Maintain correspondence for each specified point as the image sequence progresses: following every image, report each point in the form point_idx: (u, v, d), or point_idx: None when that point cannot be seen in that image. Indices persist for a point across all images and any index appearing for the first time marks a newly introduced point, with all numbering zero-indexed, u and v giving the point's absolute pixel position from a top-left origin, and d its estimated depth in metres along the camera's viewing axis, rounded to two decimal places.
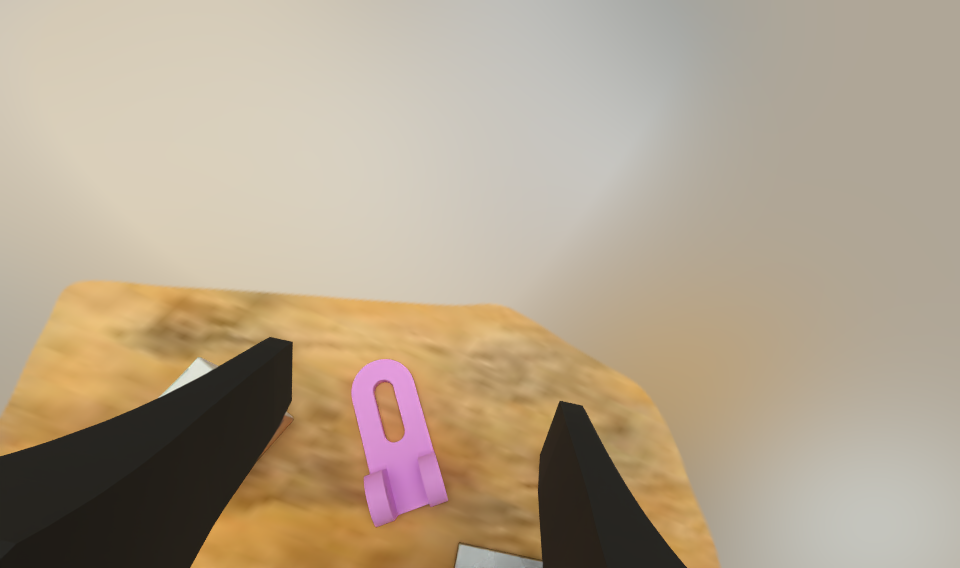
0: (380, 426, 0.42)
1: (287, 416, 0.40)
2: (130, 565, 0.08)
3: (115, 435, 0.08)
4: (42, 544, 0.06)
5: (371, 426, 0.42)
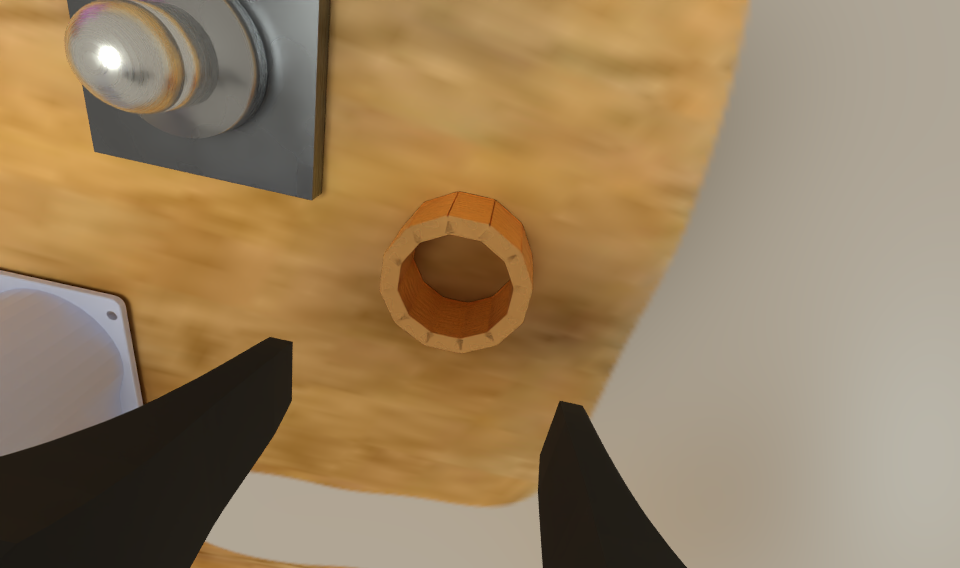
0: None
1: None
2: (130, 565, 0.08)
3: (116, 435, 0.08)
4: (42, 544, 0.06)
5: None
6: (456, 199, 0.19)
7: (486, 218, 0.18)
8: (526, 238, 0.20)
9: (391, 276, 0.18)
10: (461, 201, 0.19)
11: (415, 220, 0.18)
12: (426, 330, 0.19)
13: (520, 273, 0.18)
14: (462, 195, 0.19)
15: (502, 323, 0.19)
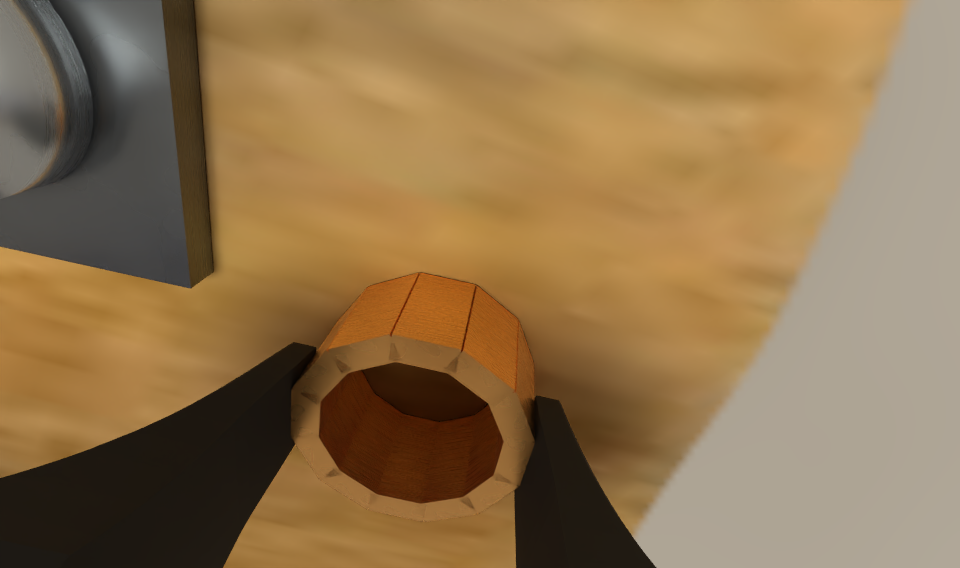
0: None
1: None
2: None
3: (152, 443, 0.08)
4: (92, 555, 0.06)
5: None
6: (412, 291, 0.12)
7: (457, 333, 0.11)
8: (524, 341, 0.13)
9: (307, 418, 0.11)
10: (420, 295, 0.12)
11: (342, 334, 0.11)
12: (368, 491, 0.12)
13: (514, 421, 0.11)
14: (424, 280, 0.12)
15: (486, 487, 0.12)
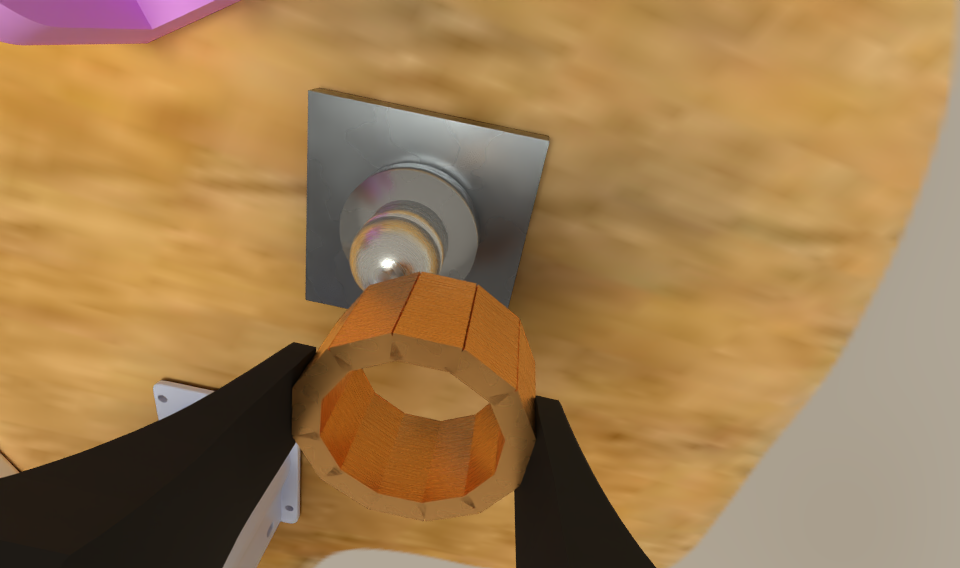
0: None
1: None
2: None
3: (152, 443, 0.08)
4: (92, 555, 0.06)
5: None
6: (414, 290, 0.12)
7: (459, 332, 0.11)
8: (525, 340, 0.13)
9: (308, 417, 0.11)
10: (421, 294, 0.12)
11: (343, 332, 0.11)
12: (369, 490, 0.12)
13: (515, 419, 0.11)
14: (425, 279, 0.12)
15: (487, 486, 0.12)
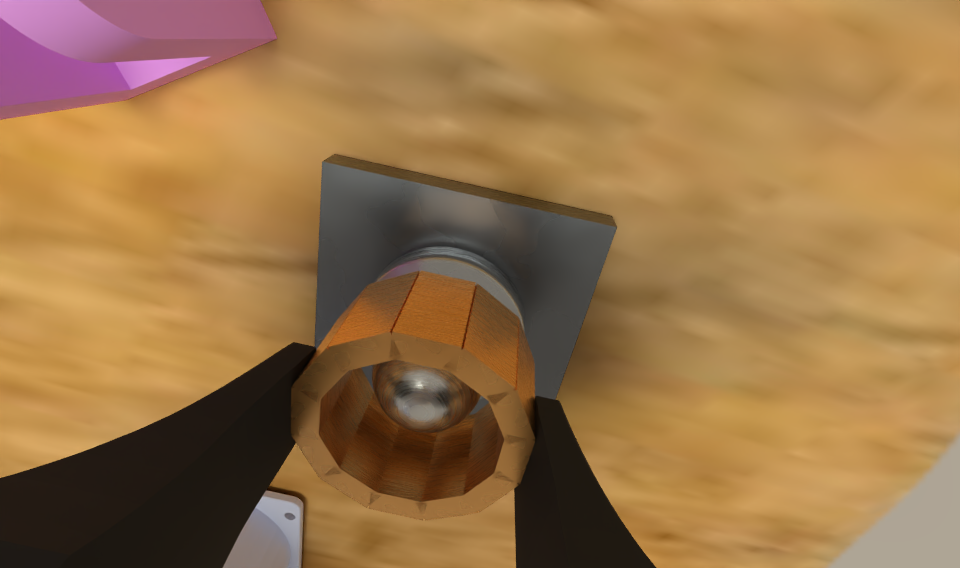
0: None
1: None
2: None
3: (153, 443, 0.08)
4: (92, 555, 0.06)
5: None
6: (413, 289, 0.12)
7: (458, 330, 0.11)
8: (525, 339, 0.13)
9: (307, 416, 0.11)
10: (421, 293, 0.12)
11: (342, 331, 0.11)
12: (369, 489, 0.12)
13: (515, 418, 0.11)
14: (425, 277, 0.12)
15: (487, 485, 0.12)
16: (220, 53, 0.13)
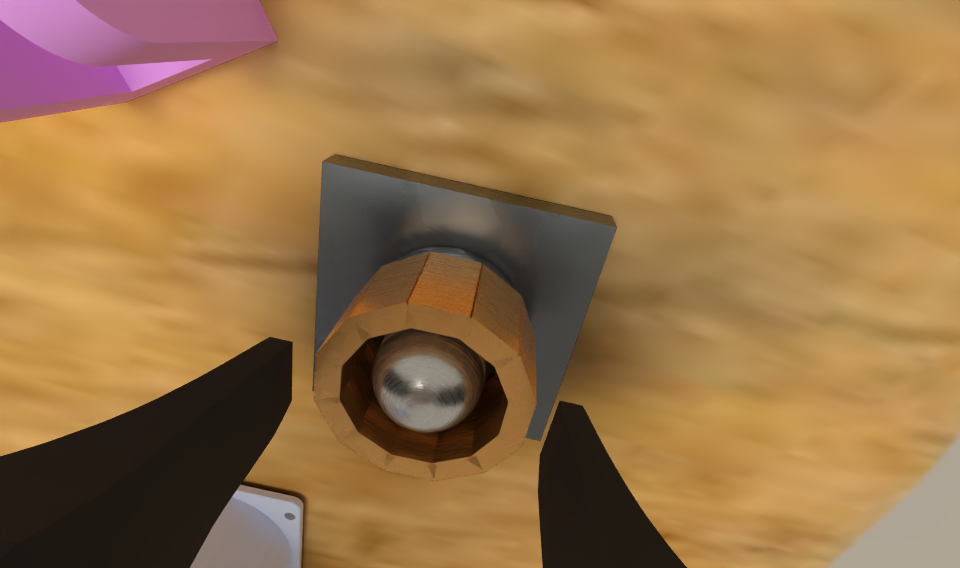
0: None
1: None
2: (130, 565, 0.08)
3: (116, 435, 0.08)
4: (42, 544, 0.06)
5: None
6: (425, 267, 0.13)
7: (466, 302, 0.12)
8: (527, 315, 0.14)
9: (329, 382, 0.13)
10: (432, 271, 0.13)
11: (362, 304, 0.12)
12: (384, 451, 0.14)
13: (518, 382, 0.12)
14: (435, 257, 0.14)
15: (492, 446, 0.13)
16: (221, 56, 0.13)
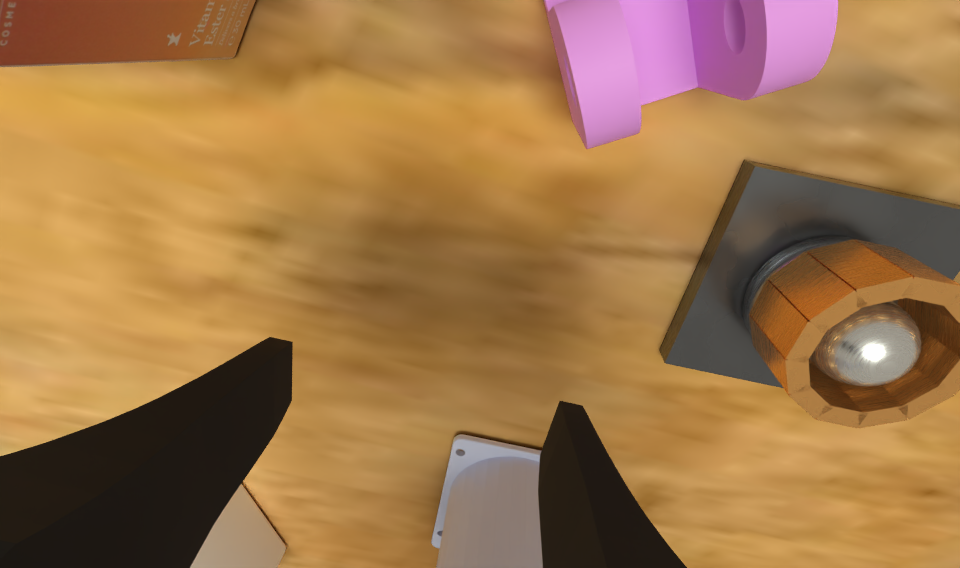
0: None
1: None
2: (130, 565, 0.08)
3: (116, 435, 0.08)
4: (42, 544, 0.06)
5: None
6: (874, 251, 0.16)
7: (943, 277, 0.15)
8: None
9: (808, 344, 0.16)
10: (882, 253, 0.16)
11: (850, 280, 0.15)
12: (825, 403, 0.17)
13: None
14: (865, 243, 0.17)
15: (927, 396, 0.16)
16: None
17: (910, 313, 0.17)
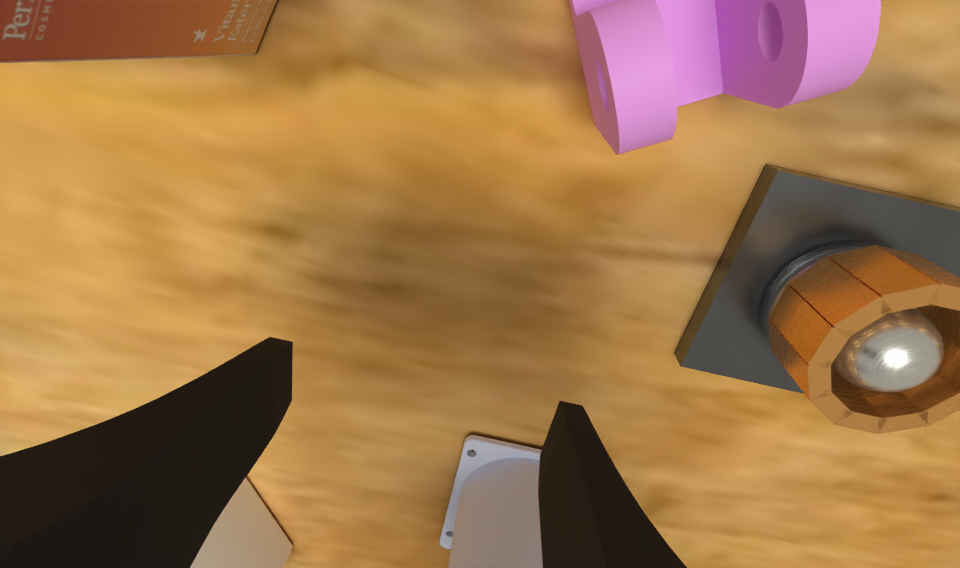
0: None
1: None
2: (130, 565, 0.08)
3: (115, 435, 0.08)
4: (42, 544, 0.06)
5: None
6: (897, 257, 0.16)
7: None
8: None
9: (831, 350, 0.16)
10: (905, 260, 0.16)
11: (875, 286, 0.15)
12: (845, 408, 0.17)
13: None
14: (887, 249, 0.17)
15: (948, 402, 0.16)
16: None
17: (930, 319, 0.17)
